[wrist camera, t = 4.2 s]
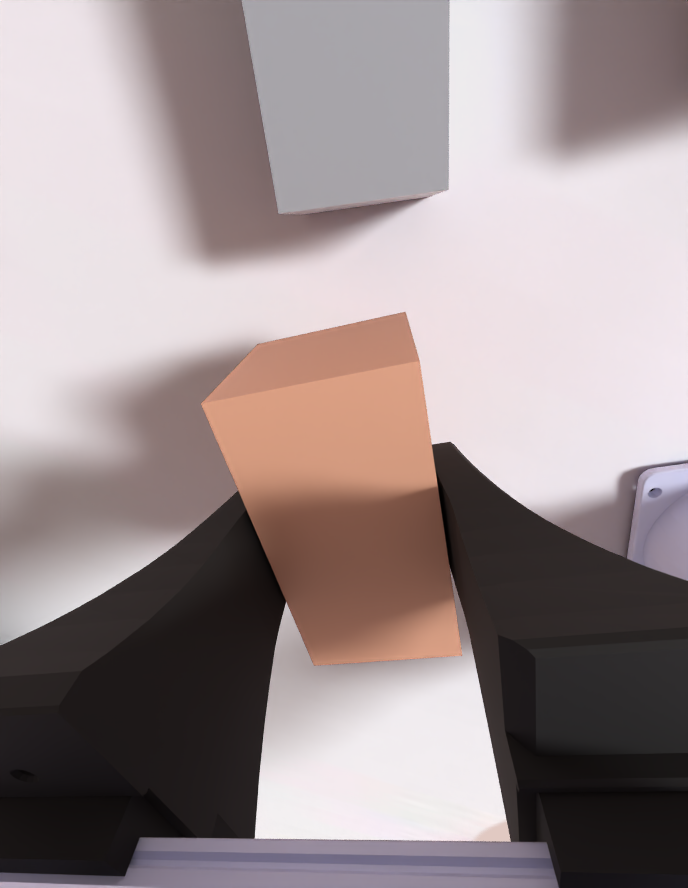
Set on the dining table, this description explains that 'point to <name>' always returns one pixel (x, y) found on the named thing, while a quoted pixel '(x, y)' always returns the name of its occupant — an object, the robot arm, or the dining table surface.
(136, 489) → the dining table surface
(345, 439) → the terracotta brick
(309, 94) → the slate-grey brick
